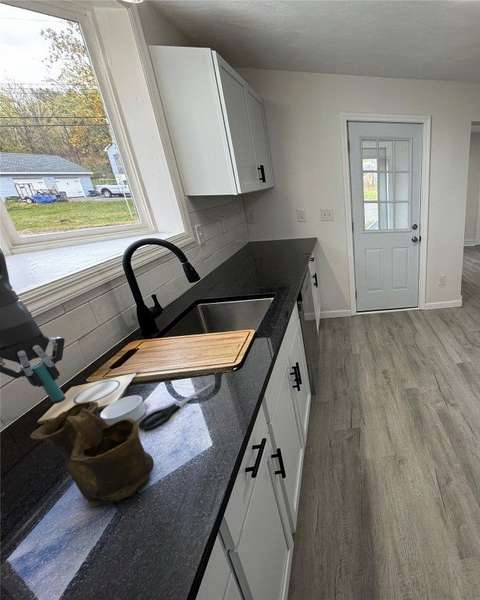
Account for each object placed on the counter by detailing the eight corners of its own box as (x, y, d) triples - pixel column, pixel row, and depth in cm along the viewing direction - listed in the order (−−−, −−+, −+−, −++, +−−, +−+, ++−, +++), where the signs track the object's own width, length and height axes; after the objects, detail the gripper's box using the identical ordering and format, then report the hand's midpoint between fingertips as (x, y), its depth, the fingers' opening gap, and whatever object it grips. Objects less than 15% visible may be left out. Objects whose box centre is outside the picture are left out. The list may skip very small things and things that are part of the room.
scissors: (207, 380, 99) (135, 425, 83) (206, 378, 98) (134, 423, 82) (221, 385, 96) (149, 434, 80) (220, 383, 95) (147, 431, 79)
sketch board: (38, 424, 86) (36, 421, 86) (73, 389, 100) (71, 386, 100) (116, 405, 91) (114, 402, 91) (138, 374, 105) (137, 372, 105)
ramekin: (104, 421, 85) (97, 408, 84) (143, 402, 91) (137, 390, 90) (110, 436, 80) (102, 423, 78) (151, 415, 86) (145, 403, 84)
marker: (51, 404, 81) (27, 369, 77) (57, 399, 83) (34, 364, 79) (62, 402, 82) (40, 367, 77) (68, 396, 84) (46, 362, 79)
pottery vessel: (184, 483, 66) (147, 410, 58) (126, 535, 57) (72, 458, 49) (120, 448, 76) (81, 382, 68) (62, 487, 67) (9, 417, 59)
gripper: (42, 308, 80) (75, 364, 87) (-44, 334, 69) (2, 396, 76) (55, 311, 77) (88, 369, 84) (-33, 339, 66) (14, 404, 73)
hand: (47, 382), depth 80 cm, fingers closed on marker, 2 cm apart
